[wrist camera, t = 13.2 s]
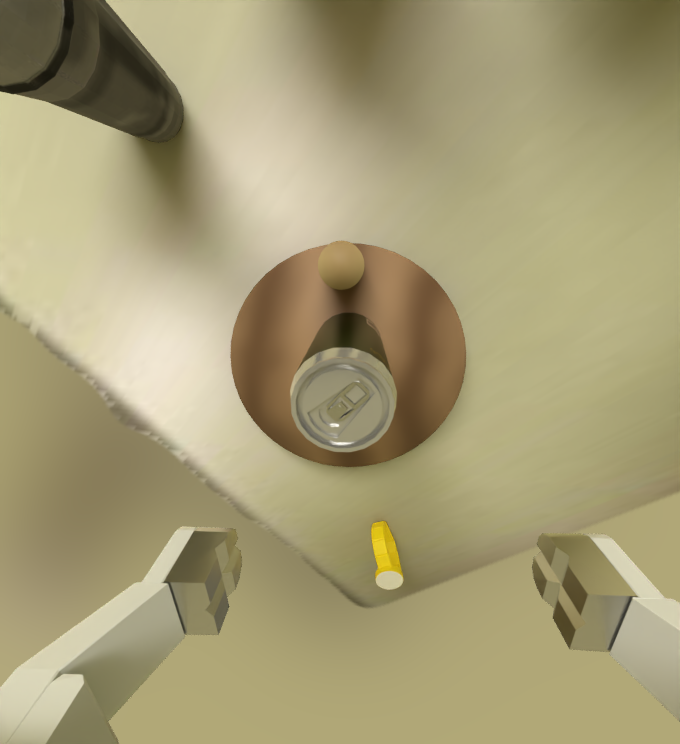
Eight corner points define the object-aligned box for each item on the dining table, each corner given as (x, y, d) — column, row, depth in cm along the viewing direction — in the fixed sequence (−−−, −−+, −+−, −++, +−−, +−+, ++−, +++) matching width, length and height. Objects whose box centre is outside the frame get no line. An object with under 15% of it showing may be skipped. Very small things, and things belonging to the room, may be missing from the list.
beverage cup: (191, 178, 25) (-290, -46, 6) (100, 141, 25) (-721, -223, 6) (211, 69, 23) (-475, -811, 4) (110, 25, 22) (-1251, -1249, 3)
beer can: (348, 296, 25) (342, 328, 14) (395, 343, 26) (423, 409, 15) (303, 342, 26) (262, 406, 15) (348, 385, 27) (342, 475, 16)
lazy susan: (470, 239, 25) (503, 234, 19) (448, 454, 32) (468, 497, 26) (223, 248, 26) (186, 246, 20) (253, 453, 33) (231, 495, 27)
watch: (403, 544, 38) (412, 596, 32) (381, 549, 38) (386, 602, 33) (387, 509, 36) (394, 559, 30) (363, 515, 36) (366, 566, 31)
